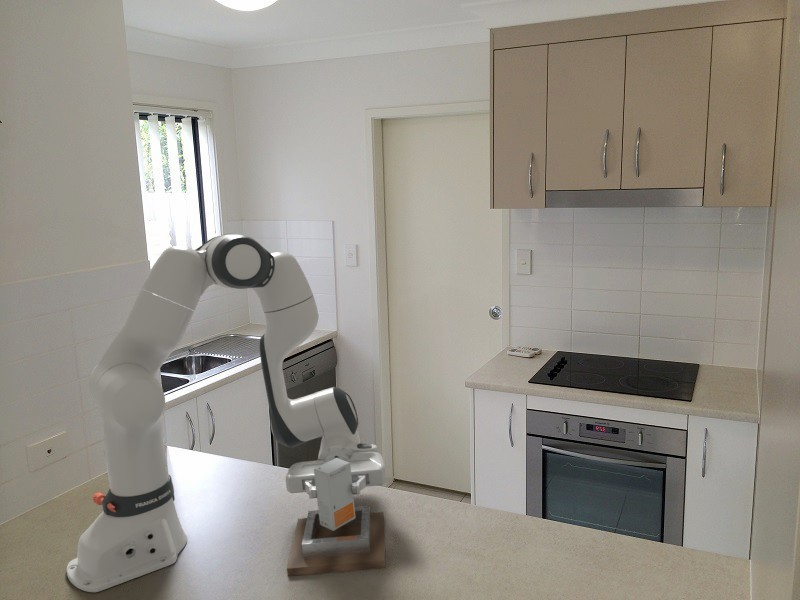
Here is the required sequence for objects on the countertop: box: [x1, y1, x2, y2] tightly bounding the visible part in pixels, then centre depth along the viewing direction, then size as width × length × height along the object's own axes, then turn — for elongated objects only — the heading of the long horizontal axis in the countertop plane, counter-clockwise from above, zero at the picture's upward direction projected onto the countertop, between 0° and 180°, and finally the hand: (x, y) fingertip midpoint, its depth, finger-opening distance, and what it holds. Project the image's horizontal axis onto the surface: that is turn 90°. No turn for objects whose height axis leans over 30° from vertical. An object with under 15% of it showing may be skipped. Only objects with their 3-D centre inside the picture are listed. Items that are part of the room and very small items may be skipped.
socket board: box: [286, 505, 386, 577], centre depth 133 cm, size 18×18×4 cm
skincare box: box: [314, 458, 356, 531], centre depth 131 cm, size 6×4×12 cm
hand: (334, 493), depth 130 cm, fingers closed on skincare box, 7 cm apart
